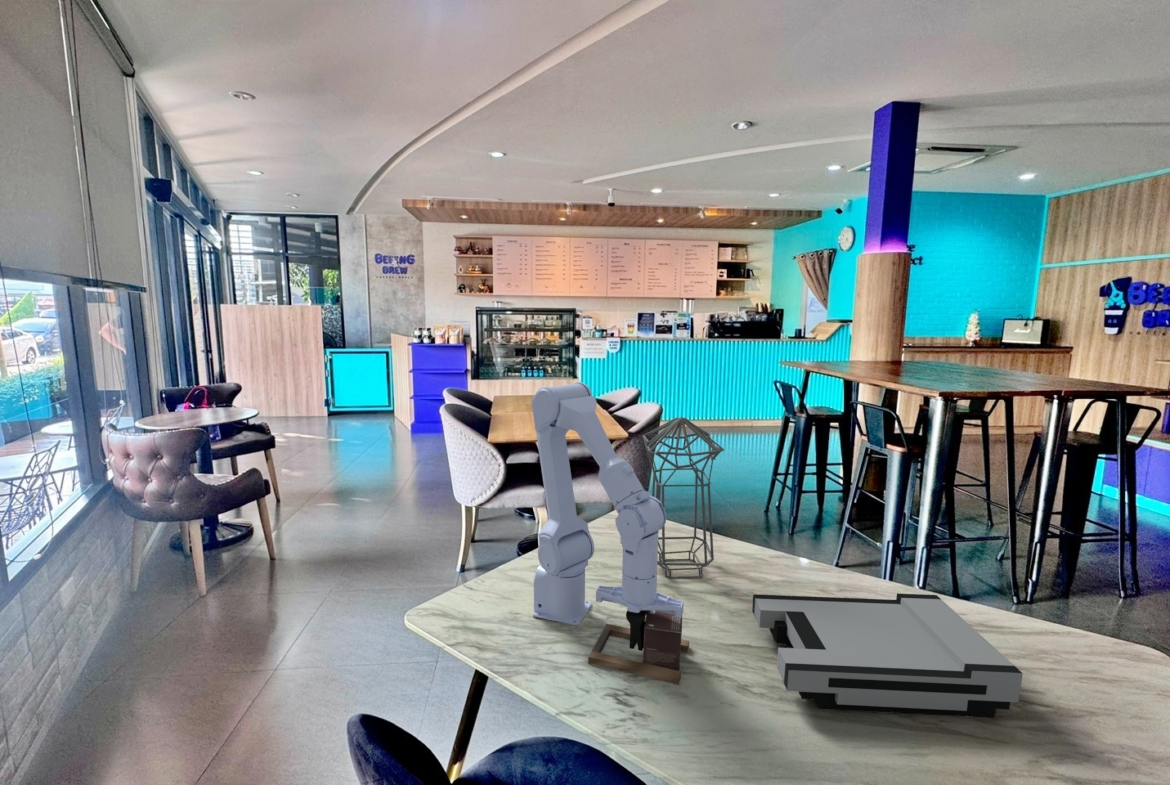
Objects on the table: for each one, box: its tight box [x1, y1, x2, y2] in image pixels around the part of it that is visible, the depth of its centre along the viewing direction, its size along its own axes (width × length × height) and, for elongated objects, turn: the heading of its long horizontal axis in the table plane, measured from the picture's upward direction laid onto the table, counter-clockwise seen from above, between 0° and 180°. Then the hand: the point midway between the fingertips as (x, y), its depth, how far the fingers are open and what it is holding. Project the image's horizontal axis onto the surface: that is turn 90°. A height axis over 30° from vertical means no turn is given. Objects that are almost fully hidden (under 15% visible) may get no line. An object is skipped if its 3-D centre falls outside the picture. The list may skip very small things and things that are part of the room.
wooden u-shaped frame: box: [587, 623, 690, 686], centre depth 91 cm, size 15×10×1 cm, turn 70°
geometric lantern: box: [641, 416, 725, 579], centre depth 118 cm, size 16×16×35 cm
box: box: [642, 610, 683, 671], centre depth 89 cm, size 6×6×7 cm
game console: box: [751, 593, 1023, 719], centre depth 87 cm, size 21×32×8 cm, turn 86°
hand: (637, 646), depth 91 cm, fingers closed
